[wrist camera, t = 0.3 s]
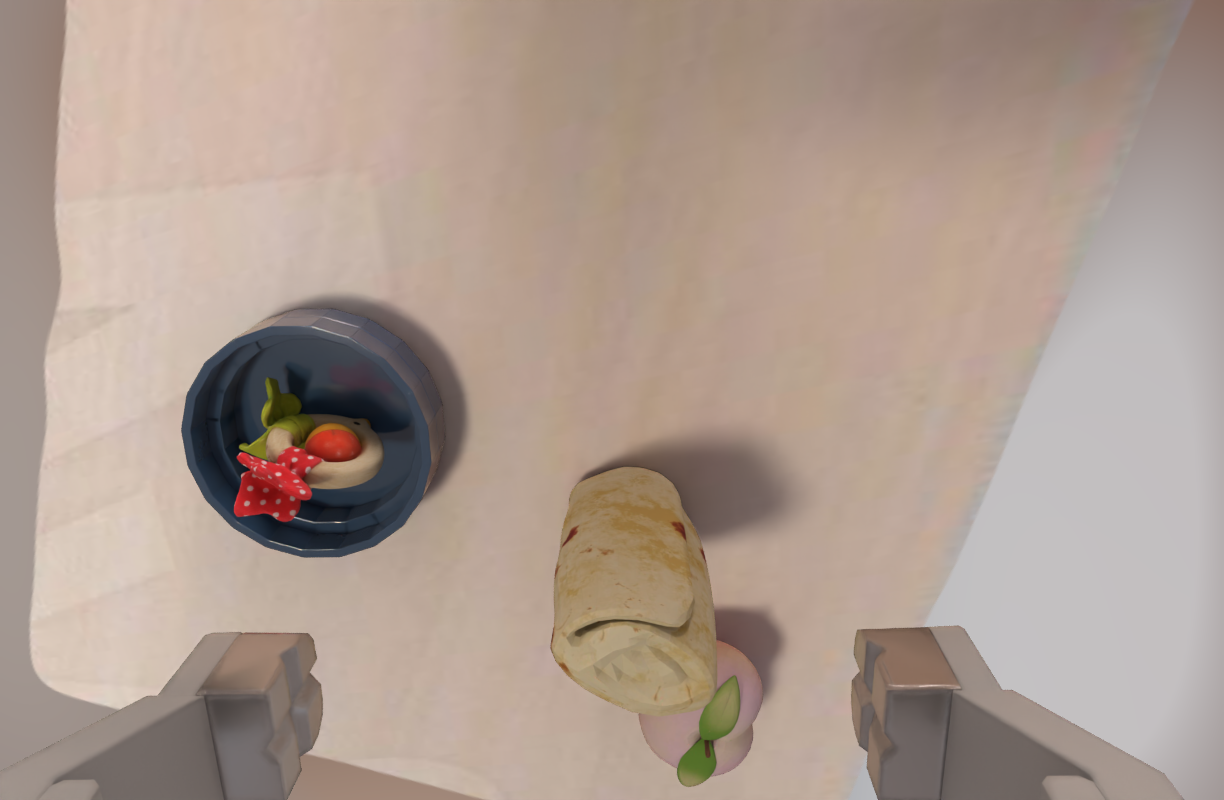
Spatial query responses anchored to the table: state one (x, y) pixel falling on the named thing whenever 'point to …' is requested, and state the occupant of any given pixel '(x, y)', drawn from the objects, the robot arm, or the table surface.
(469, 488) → the table surface
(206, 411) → the bowl
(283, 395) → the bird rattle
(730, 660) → the decorative fruit
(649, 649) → the food model
